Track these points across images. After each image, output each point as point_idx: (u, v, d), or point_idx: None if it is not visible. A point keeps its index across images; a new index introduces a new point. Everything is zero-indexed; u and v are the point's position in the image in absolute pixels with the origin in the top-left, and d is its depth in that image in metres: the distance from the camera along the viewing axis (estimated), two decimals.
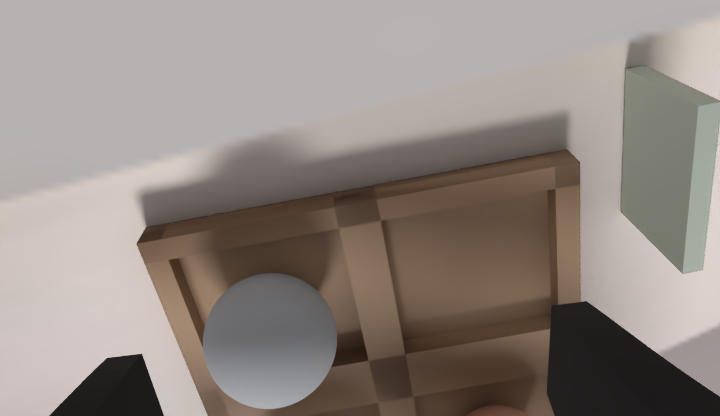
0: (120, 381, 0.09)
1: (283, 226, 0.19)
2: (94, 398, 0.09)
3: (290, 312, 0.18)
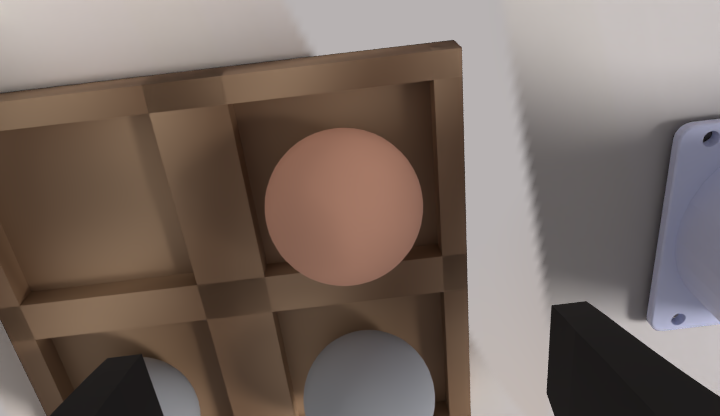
0: (120, 381, 0.09)
1: (40, 380, 0.20)
2: (94, 398, 0.09)
3: None
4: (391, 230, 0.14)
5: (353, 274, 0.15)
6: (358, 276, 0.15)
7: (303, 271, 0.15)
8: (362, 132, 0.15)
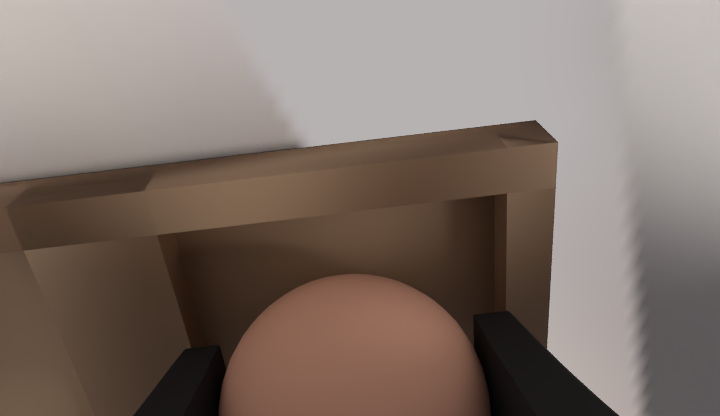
0: (206, 371, 0.09)
1: None
2: (184, 388, 0.09)
3: None
4: None
5: None
6: None
7: None
8: (388, 294, 0.09)
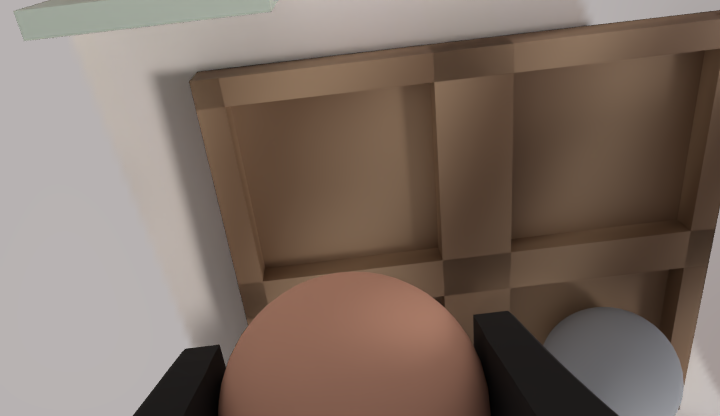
0: (206, 371, 0.09)
1: None
2: (184, 387, 0.09)
3: None
4: None
5: None
6: None
7: None
8: (386, 291, 0.09)
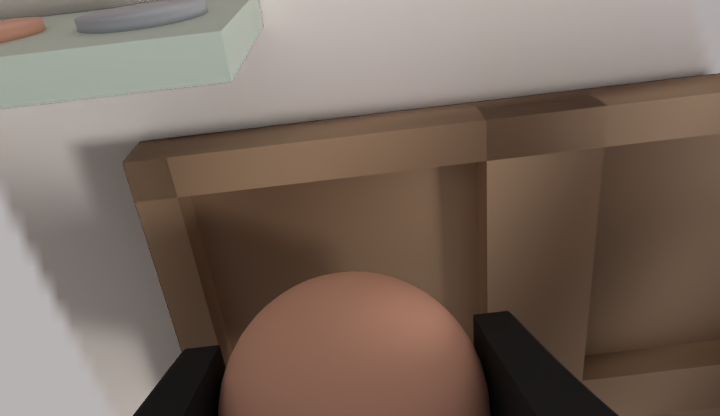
0: (206, 371, 0.09)
1: None
2: (184, 387, 0.09)
3: None
4: None
5: None
6: None
7: None
8: (386, 291, 0.09)
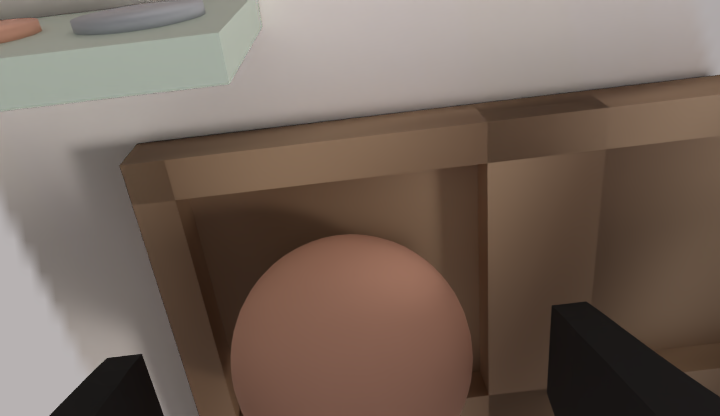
0: (120, 381, 0.09)
1: None
2: (94, 398, 0.09)
3: None
4: None
5: None
6: None
7: None
8: (380, 248, 0.10)
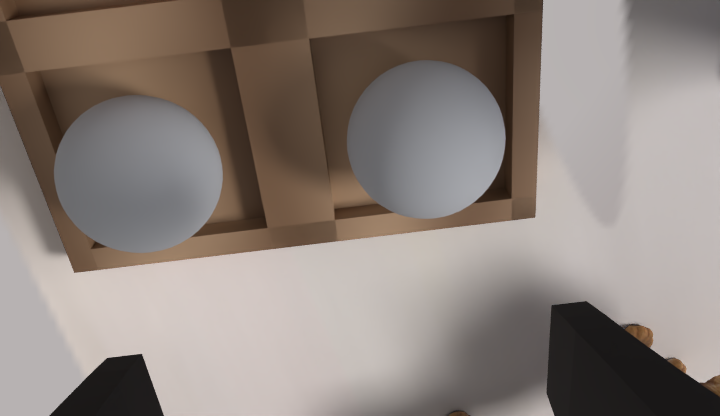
0: (120, 381, 0.09)
1: (32, 133, 0.17)
2: (94, 398, 0.09)
3: (57, 158, 0.15)
4: None
5: None
6: None
7: None
8: None
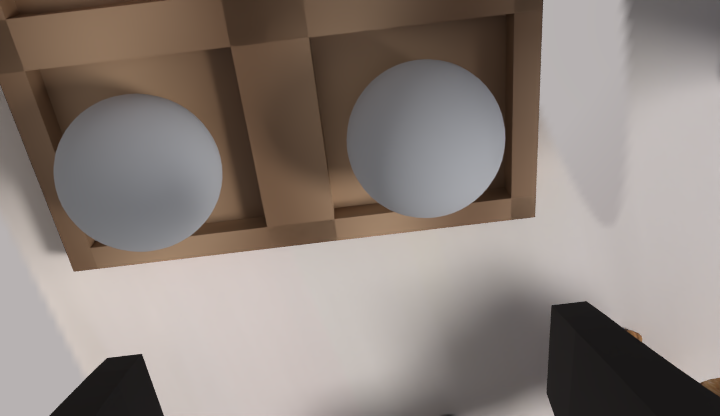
0: (120, 381, 0.09)
1: (31, 132, 0.17)
2: (94, 398, 0.09)
3: (56, 156, 0.15)
4: None
5: None
6: None
7: None
8: None
